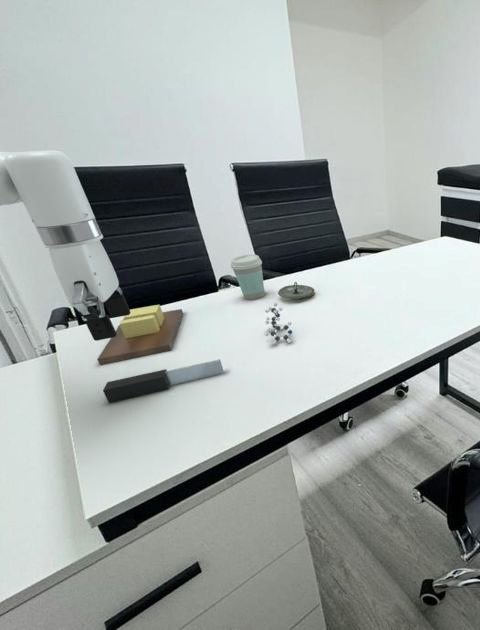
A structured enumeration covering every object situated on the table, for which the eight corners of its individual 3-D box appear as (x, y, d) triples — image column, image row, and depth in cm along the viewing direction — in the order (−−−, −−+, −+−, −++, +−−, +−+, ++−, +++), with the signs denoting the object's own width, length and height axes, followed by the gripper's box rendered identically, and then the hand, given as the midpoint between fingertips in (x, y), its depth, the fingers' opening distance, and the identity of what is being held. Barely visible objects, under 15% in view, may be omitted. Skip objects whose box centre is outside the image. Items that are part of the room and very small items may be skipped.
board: (99, 364, 86) (97, 359, 85) (125, 324, 104) (123, 319, 103) (171, 350, 90) (169, 344, 90) (183, 313, 109) (181, 308, 108)
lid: (278, 299, 119) (271, 286, 116) (306, 284, 122) (300, 270, 119) (291, 311, 111) (283, 298, 108) (320, 294, 115) (314, 281, 112)
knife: (108, 403, 73) (102, 389, 72) (113, 394, 75) (106, 381, 74) (223, 376, 80) (219, 363, 78) (224, 368, 82) (220, 356, 81)
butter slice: (125, 338, 93) (119, 323, 91) (127, 335, 95) (121, 320, 93) (158, 332, 96) (152, 317, 94) (160, 328, 97) (154, 314, 95)
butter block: (129, 331, 96) (123, 317, 95) (134, 323, 101) (128, 309, 99) (161, 325, 99) (155, 311, 97) (164, 318, 103) (159, 304, 101)
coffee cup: (265, 288, 123) (257, 252, 118) (272, 296, 117) (263, 258, 112) (237, 295, 119) (227, 257, 114) (242, 304, 113) (232, 265, 108)
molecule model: (267, 356, 90) (275, 331, 86) (255, 322, 97) (261, 297, 93) (294, 354, 94) (302, 330, 90) (280, 321, 101) (287, 297, 97)
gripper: (63, 226, 69) (103, 312, 76) (16, 250, 54) (71, 354, 62) (113, 220, 71) (147, 304, 78) (80, 241, 56) (126, 342, 64)
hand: (114, 326), depth 70 cm, fingers open, 9 cm apart
